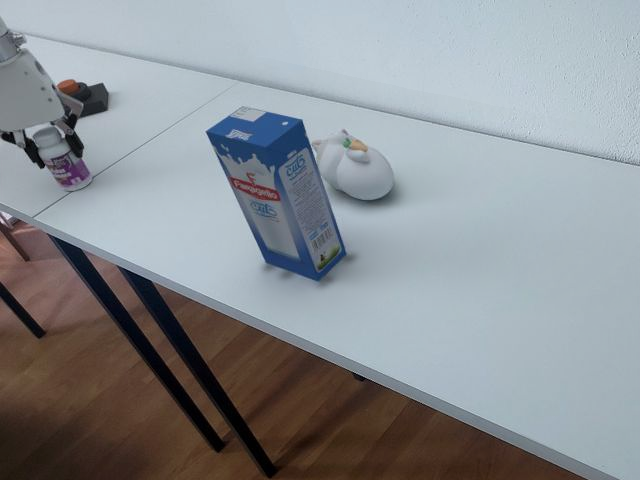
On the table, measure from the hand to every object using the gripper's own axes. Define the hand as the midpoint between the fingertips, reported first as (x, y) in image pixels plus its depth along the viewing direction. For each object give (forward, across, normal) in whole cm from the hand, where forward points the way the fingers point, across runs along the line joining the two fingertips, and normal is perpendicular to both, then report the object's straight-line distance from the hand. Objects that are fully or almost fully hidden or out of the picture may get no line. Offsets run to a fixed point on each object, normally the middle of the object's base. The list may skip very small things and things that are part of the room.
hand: (61, 158), depth 107 cm
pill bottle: (+5, 0, 0) cm, 5 cm away
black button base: (+5, +1, -32) cm, 32 cm away
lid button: (+1, +1, -32) cm, 32 cm away
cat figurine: (+5, -44, +28) cm, 52 cm away
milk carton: (+5, -33, +41) cm, 53 cm away
